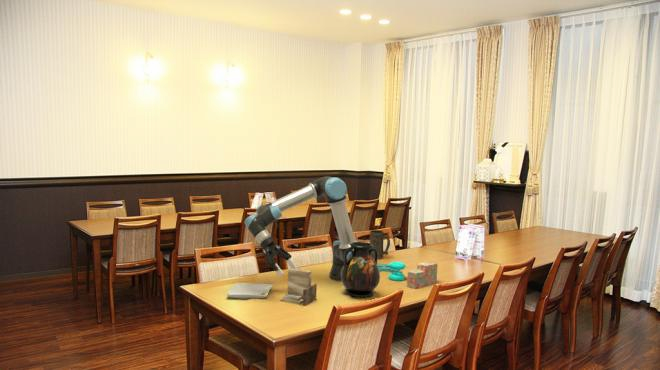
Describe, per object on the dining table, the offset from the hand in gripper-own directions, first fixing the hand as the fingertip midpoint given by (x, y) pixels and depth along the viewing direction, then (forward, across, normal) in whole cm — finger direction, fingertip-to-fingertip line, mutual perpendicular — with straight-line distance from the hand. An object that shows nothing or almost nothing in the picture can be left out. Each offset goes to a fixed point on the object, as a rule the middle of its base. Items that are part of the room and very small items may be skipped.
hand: (288, 272), depth 257 cm
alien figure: (+26, -85, +5) cm, 89 cm away
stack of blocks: (+47, -65, +28) cm, 85 cm away
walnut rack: (+15, +1, -5) cm, 16 cm away
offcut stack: (+14, +5, -5) cm, 15 cm away
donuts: (+35, -69, +16) cm, 79 cm away
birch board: (+14, -1, -5) cm, 15 cm away
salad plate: (-4, +4, -25) cm, 26 cm away
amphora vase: (+30, -28, +10) cm, 42 cm away
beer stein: (+15, -115, -5) cm, 116 cm away
